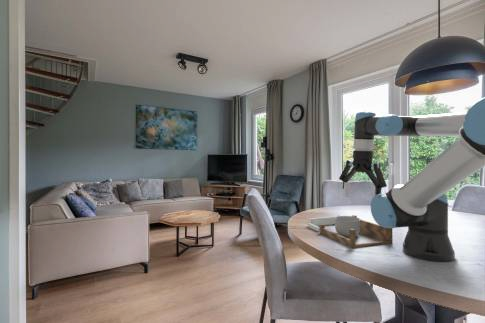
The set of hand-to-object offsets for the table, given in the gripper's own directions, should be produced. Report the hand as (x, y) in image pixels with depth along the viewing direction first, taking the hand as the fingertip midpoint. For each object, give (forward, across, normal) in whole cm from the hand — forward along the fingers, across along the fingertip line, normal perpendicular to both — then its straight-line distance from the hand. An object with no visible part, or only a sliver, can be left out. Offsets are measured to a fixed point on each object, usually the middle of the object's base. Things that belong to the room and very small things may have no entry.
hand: (360, 200), depth 107 cm
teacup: (+18, +7, -2) cm, 20 cm away
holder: (+19, +20, -5) cm, 28 cm away
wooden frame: (+18, +2, -1) cm, 18 cm away
